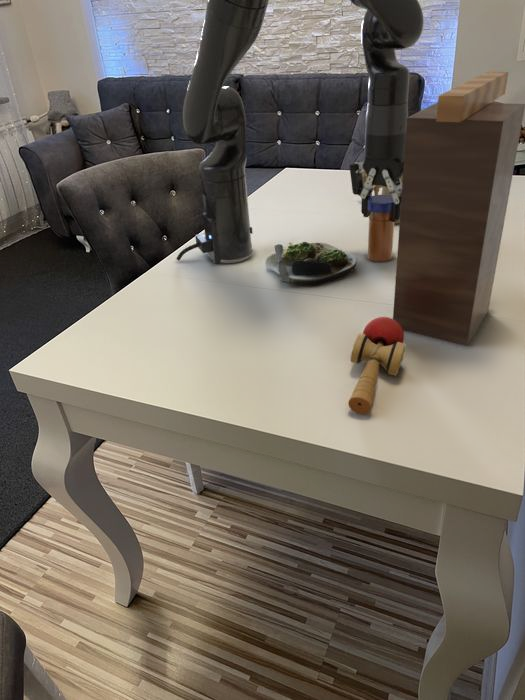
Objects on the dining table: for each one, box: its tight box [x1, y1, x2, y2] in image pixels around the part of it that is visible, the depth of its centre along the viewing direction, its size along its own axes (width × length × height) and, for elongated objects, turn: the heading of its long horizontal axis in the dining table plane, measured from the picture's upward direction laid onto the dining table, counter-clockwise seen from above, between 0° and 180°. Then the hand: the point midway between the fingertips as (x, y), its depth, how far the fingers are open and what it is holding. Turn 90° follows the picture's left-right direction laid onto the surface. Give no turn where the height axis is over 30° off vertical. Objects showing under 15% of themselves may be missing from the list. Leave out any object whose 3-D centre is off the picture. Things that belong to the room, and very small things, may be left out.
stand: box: [392, 101, 525, 347], centre depth 80 cm, size 12×12×32 cm
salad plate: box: [264, 241, 358, 287], centre depth 109 cm, size 19×18×5 cm
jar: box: [367, 211, 395, 263], centre depth 108 cm, size 5×5×10 cm
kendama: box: [347, 316, 407, 415], centre depth 75 cm, size 8×6×18 cm
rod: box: [436, 71, 509, 123], centre depth 72 cm, size 22×3×3 cm, turn 146°
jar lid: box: [367, 194, 394, 213], centre depth 105 cm, size 6×6×2 cm
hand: (381, 218), depth 107 cm, fingers closed on jar lid, 5 cm apart
